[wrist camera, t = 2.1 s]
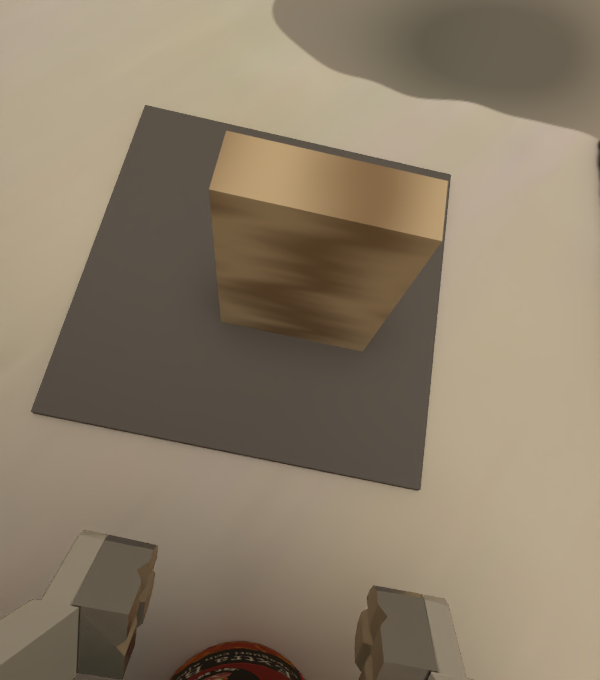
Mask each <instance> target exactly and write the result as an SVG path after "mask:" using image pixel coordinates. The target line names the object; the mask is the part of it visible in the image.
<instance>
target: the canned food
mask: <svg viewBox="0 0 600 680" xmlns="http://www.w3.org/2000/svg"><path fill="white" fill-rule="evenodd" d="M170 680H304V678H303V676H302V675H301V673H300V672H299V671H298V670H297V669H296V668H295V667H294V666H293V664H292V663H291V662H290V661H289V660H287V659H286V658H284V657H283V656H282V655H280V654H279V653H278V652H276V651H274V650H272V649H270V648H267V647H265V646H263V645H261V644H255V643H250V642H227V643H223V644H220V645H217V646H213V647H210V648H208V649H206V650H204V651H203V652H201V653H199V654H197V655H195V656H193V657H192V658H191V659H190V660H189V661H187V662H186V663H185V664H184V665H183V666H181V667H180V668H179V669H178V670H177V671H176V673H175V674H174V675H173V676H172V677H171V678H170Z"/></svg>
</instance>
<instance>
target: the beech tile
mask: <svg viewBox="0 0 600 680" xmlns="http://www.w3.org/2000/svg"><path fill="white" fill-rule="evenodd" d="M447 187H448V181H446V180H441V179H437V178H433V177H428V176H424V175H419V174H415V173H411V172H406V171H402V170H397V169H393V168H389V167H384V166H380V165H375V164H371V163H367V162H362V161H358V160H353V159H349V158H345V157H340V156H336V155H331V154H327V153H323V152H318V151H314V150H310V149H305V148H301V147H296V146H292V145H288V144H283V143H279V142H274V141H270V140H266V139H261V138H257V137H252V136H248V135H244V134H239V133H235V132H230V131H226V133H225V136H224V140H223V143H222V147H221V150H220V153H219V157H218V160H217V164H216V167H215V170H214V174H213V177H212V181H211V184H210V187H209V196H210V207H211V218H212V229H213V240H214V251H215V262H216V273H217V284H218V295H219V306H220V317H221V322H224V323H229V324H234V325H239V326H243V327H248V328H253V329H257V330H262V331H267V332H272V333H276V334H281V335H286V336H290V337H295V338H300V339H305V340H309V341H314V342H319V343H324V344H328V345H333V346H338V347H342V348H347V349H352V350H357V351H361V352H363V351H364V349H365V348H366V346H367V345H368V344H369V342H370V341H371V339H372V338H373V337H374V335H375V334H376V332H377V331H378V330H379V328H380V327H381V326H382V324H383V323H384V321H385V320H386V319H387V317H388V316H389V314H390V313H391V312H392V310H393V309H394V307H395V306H396V305H397V303H398V302H399V300H400V299H401V298H402V296H403V295H404V294H405V292H406V291H407V289H408V288H409V287H410V285H411V284H412V282H413V281H414V280H415V278H416V277H417V275H418V274H419V273H420V271H421V270H422V269H423V267H424V266H425V264H426V263H427V262H428V260H429V259H430V257H431V256H432V255H433V253H434V252H435V250H436V249H437V248H438V246H439V245H440V243H441V242H442V238H443V227H444V217H445V207H446V197H447Z"/></svg>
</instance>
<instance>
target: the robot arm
mask: <svg viewBox="0 0 600 680" xmlns="http://www.w3.org/2000/svg"><path fill="white" fill-rule="evenodd" d="M157 553H158V546H157V545H153V544H149V543H144V542H139V541H135V540H130V539H126V538H121V537H116V536H112V535H106V534H101V533H96V532H92V531H87V530H84V531H83V532H82V533H81V534H80V535H79V536H78V537H77V539H76V540H75V542H74V544H73V545H72V547H71V549H70V551H69V552H68V554H67V556H66V558H65V559H64V561H63V563H62V564H61V566H60V568H59V570H58V571H57V573H56V575H55V576H54V578H53V580H52V582H51V583H50V585H49V587H48V589H47V590H46V592H45V594H44V595H43V597H42V599H41V600H37V599H32V600H30V601H29V602H27V603H26V604H24V605H23V606H21V607H20V608H18V609H17V610H15V611H13V612H12V613H10V614H9V615H7V616H6V617H4V618H3V619H1V620H0V680H72V679H73V678H75V677H76V673H82V674H89V675H96V676H102V677H109V678H116V679H123V676H124V673H125V670H126V668H127V665H128V662H129V659H130V657H131V654H132V651H133V648H134V646H135V638H136V630H137V627H138V626H140V625H141V624H142V623H143V620H144V617H145V614H146V611H147V608H148V605H149V601H150V598H151V594H152V589H153V584H154V578H155V573H154V572H153V568H154V565H155V562H156V559H157ZM367 607H368V609H366V610H364V611H363V612H361V615H360V618H359V621H358V624H357V629H356V635H355V663H356V665H357V666H358V668H359V669H360V671H361V674H360V677H359V680H473V679H468V678H466V674H465V670H464V666H463V662H462V658H461V653H460V649H459V645H458V641H457V637H456V633H455V629H454V625H453V621H452V617H451V613H450V609H449V605H448V603H447V601H446V600H445V599H444V598H438V597H433V596H427V595H422V594H418V593H413V592H407V591H402V590H396V589H390V588H385V587H379V586H373V587H372V588H371V589H370V591H369V593H368V596H367Z"/></svg>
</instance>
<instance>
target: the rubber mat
mask: <svg viewBox="0 0 600 680" xmlns="http://www.w3.org/2000/svg"><path fill="white" fill-rule="evenodd" d="M226 131H230V132H235V133H239V134H244V135H248V136H252V137H257V138H261V139H266V140H270V141H274V142H279V143H283V144H288V145H292V146H296V147H301V148H305V149H310V150H314V151H318V152H323V153H327V154H331V155H336V156H340V157H345V158H349V159H353V160H358V161H362V162H367V163H371V164H375V165H380V166H384V167H389V168H393V169H397V170H402V171H406V172H411V173H415V174H419V175H424V176H428V177H433V178H437V179H441V180H446V181H448V187H447V197H446V207H445V217H444V227H443V238H442V242H441V243H440V245H439V246H438V248H437V249H436V250H435V252H434V253H433V255H432V256H431V257H430V259H429V260H428V262H427V263H426V264H425V266H424V267H423V269H422V270H421V271H420V273H419V274H418V275H417V277H416V278H415V280H414V281H413V282H412V284H411V285H410V287H409V288H408V289H407V291H406V292H405V294H404V295H403V296H402V298H401V299H400V300H399V302H398V303H397V305H396V306H395V307H394V309H393V310H392V312H391V313H390V314H389V316H388V317H387V319H386V320H385V321H384V323H383V324H382V326H381V327H380V328H379V330H378V331H377V332H376V334H375V335H374V337H373V338H372V339H371V341H370V342H369V344H368V345H367V346H366V348H365V349H364V351H363V352H361V351H357V350H352V349H347V348H342V347H338V346H333V345H328V344H324V343H319V342H314V341H309V340H305V339H300V338H295V337H290V336H286V335H281V334H276V333H272V332H267V331H262V330H257V329H253V328H248V327H243V326H239V325H234V324H229V323H224V322H221V317H220V306H219V295H218V284H217V273H216V262H215V251H214V240H213V229H212V218H211V207H210V196H209V187H210V184H211V181H212V177H213V174H214V170H215V167H216V164H217V160H218V157H219V153H220V150H221V147H222V143H223V140H224V136H225V133H226ZM450 178H451V175H450V174H445V173H441V172H437V171H432V170H428V169H423V168H419V167H415V166H410V165H406V164H402V163H397V162H393V161H388V160H384V159H380V158H375V157H371V156H366V155H362V154H358V153H353V152H349V151H345V150H340V149H336V148H331V147H327V146H323V145H318V144H314V143H310V142H305V141H301V140H296V139H292V138H288V137H283V136H279V135H274V134H270V133H266V132H261V131H257V130H253V129H248V128H244V127H239V126H235V125H231V124H226V123H222V122H217V121H213V120H209V119H204V118H200V117H196V116H191V115H187V114H182V113H178V112H174V111H169V110H165V109H161V108H156V107H152V106H147V105H145V107H144V110H143V112H142V115H141V118H140V120H139V123H138V126H137V129H136V131H135V134H134V137H133V139H132V142H131V145H130V147H129V150H128V153H127V155H126V158H125V161H124V163H123V166H122V169H121V171H120V174H119V177H118V179H117V182H116V185H115V187H114V190H113V193H112V195H111V198H110V201H109V204H108V206H107V209H106V212H105V214H104V217H103V220H102V222H101V225H100V228H99V230H98V233H97V236H96V238H95V241H94V244H93V246H92V249H91V252H90V254H89V257H88V260H87V262H86V265H85V268H84V271H83V273H82V276H81V279H80V281H79V284H78V287H77V289H76V292H75V295H74V297H73V300H72V303H71V305H70V308H69V311H68V313H67V316H66V319H65V321H64V324H63V327H62V329H61V332H60V335H59V338H58V340H57V343H56V346H55V348H54V351H53V354H52V356H51V359H50V362H49V364H48V367H47V370H46V372H45V375H44V378H43V380H42V383H41V386H40V388H39V391H38V394H37V396H36V399H35V402H34V404H33V407H32V410H31V412H33V413H36V414H41V415H46V416H51V417H56V418H61V419H66V420H71V421H76V422H81V423H86V424H91V425H95V426H100V427H105V428H110V429H115V430H120V431H125V432H130V433H135V434H140V435H145V436H150V437H155V438H160V439H165V440H170V441H175V442H180V443H185V444H190V445H195V446H200V447H205V448H210V449H215V450H220V451H225V452H230V453H235V454H240V455H245V456H250V457H254V458H259V459H264V460H269V461H274V462H279V463H284V464H289V465H294V466H299V467H304V468H309V469H314V470H319V471H324V472H329V473H334V474H339V475H344V476H349V477H354V478H359V479H364V480H369V481H374V482H379V483H384V484H389V485H394V486H399V487H404V488H408V489H413V490H420V488H421V477H422V467H423V457H424V446H425V436H426V426H427V415H428V405H429V395H430V384H431V374H432V364H433V353H434V343H435V333H436V322H437V312H438V302H439V292H440V281H441V271H442V261H443V250H444V240H445V230H446V219H447V209H448V199H449V188H450Z"/></svg>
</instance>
